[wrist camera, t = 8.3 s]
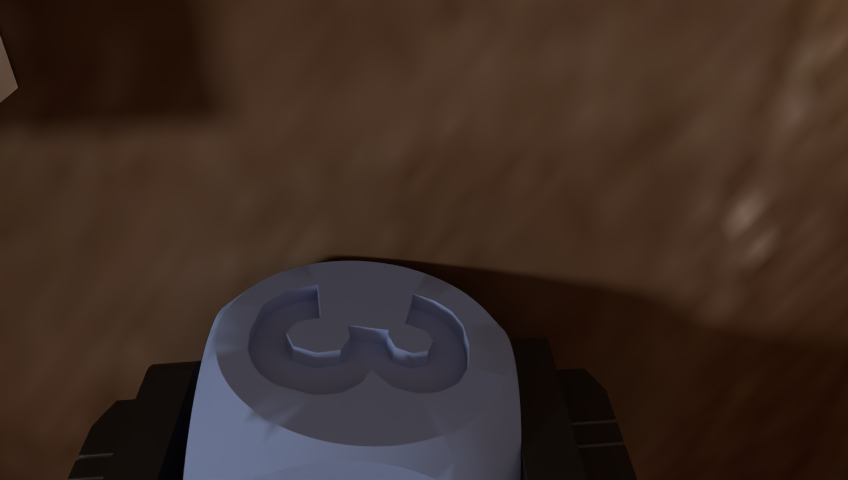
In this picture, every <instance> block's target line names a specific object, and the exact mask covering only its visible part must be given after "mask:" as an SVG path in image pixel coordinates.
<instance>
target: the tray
mask: <svg viewBox="0 0 848 480" xmlns="http://www.w3.org/2000/svg"><path fill="white" fill-rule="evenodd" d="M17 88H18V86H17V83H16V80H15V77H14V74H13V71H12V68H11V65H10V63H9V60H8V57H7V54H6V51H5V48H4V45H3V42H2V39H1V36H0V102H2V101H3V100H4V99H5V98H6V97H8V96H9V95H10V94H11V93H12V92H14V91H15V90H16V89H17Z"/></svg>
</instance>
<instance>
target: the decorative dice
mask: <svg viewBox="0 0 848 480" xmlns="http://www.w3.org/2000/svg"><path fill="white" fill-rule="evenodd" d="M520 476H521V412H520V396H519V385H518V377H517V370H516V364H515V359H514V354H513V350H512V346H511V343H510V340H509V338H508V336H507V334H506V332H505V331H504V330H503V329H502V328H501V327H500V325H499V324H498V323H497V322H496V321H495V320H494V319H493V318H492V317H491V316H490V315H489V314H488V313H487V311H486V310H485V309H484V308H483V307H482V306H480V305H479V304H478V303H477V302H476V301H475V300H473V299H472V298H471V297H470V296H468V295H467V294H465V293H464V292H462V291H461V290H459V289H457V288H456V287H454V286H452V285H450V284H448V283H446V282H444V281H442V280H440V279H438V278H435V277H433V276H431V275H428V274H425V273H422V272H419V271H416V270H413V269H409V268H405V267H401V266H396V265H391V264H385V263H378V262H368V261H331V262H322V263H315V264H309V265H304V266H300V267H296V268H292V269H289V270H286V271H283V272H280V273H278V274H275V275H273V276H270V277H268V278H266V279H264V280H262V281H260V282H259V283H257V284H255V285H254V286H252V287H251V288H249V289H248V290H246V291H245V292H243V293H242V294H240V295H239V296H238V297H236V298H235V299H234V300H232V301H231V302H230V303H228V304H227V305H226V306H224V307H223V308H222V309H221V310H220V311H219V313H218V314H217V316H216V318H215V320H214V323H213V325H212V328H211V331H210V334H209V337H208V340H207V344H206V347H205V351H204V355H203V359H202V363H201V367H200V372H199V376H198V381H197V386H196V391H195V396H194V402H193V408H192V414H191V420H190V427H189V434H188V441H187V449H186V457H185V467H184V476H183V480H520Z"/></svg>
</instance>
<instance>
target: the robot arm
mask: <svg viewBox="0 0 848 480" xmlns="http://www.w3.org/2000/svg"><path fill="white" fill-rule="evenodd" d="M510 343H511V346H512V350H513V354H514V359H515V364H516V370H517V377H518V385H519V396H520V412H521V476H520V480H637V478H636V475H635V472H634V469H633V466H632V464H631V461H630V458H629V455H628V452H627V449H626V446H624V444H623V438H622V435H621V432H620V429H619V427H618V424H617V423H616V420H615V415H614V412H613V409H612V407H611V404H610V401H609V398H608V395H607V392H606V390H605V389H604V388H603V387H602V386H601V385H600V384H599V383H598V382H597V381H596V380H595V379H594V378H593V377H592V376H591V375H590V374H589V373H588V372H587V371H586V370H585V369H569V370H556V367H555V364H554V360H553V357H552V353H551V349H550V346H549V343H548V340H547V338H531V339H517V340H510ZM201 363H202V362H201V361H194V362H180V363H166V364H154V365H151V366H150V367H149V368H148V370H147V372H146V375H145V377H144V380H143V382H142V384H141V387H140V389H139V392H138V394H137V397H136V399H133V400H119V401H116V402H115V403H114V404H113V405H112V406H111V407H110V408H109V409H108V410H107V411H106V412H105V413H104V414H103V415H102V416H101V417H100V418H99V420H98V421H97V422H96V423H95V424H94V425H93V426H92V427H91V429H90V431H89V434H88V436H87V438H86V440H85V442H84V444H83V447H82V449H81V451H80V453H79V460H77V461H76V462H75V464H74V466H73V468H72V471H71V473H70V475H69V477H68V480H183V476H184V467H185V457H186V449H187V441H188V434H189V427H190V420H191V414H192V408H193V402H194V396H195V391H196V386H197V381H198V376H199V372H200V367H201Z"/></svg>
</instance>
